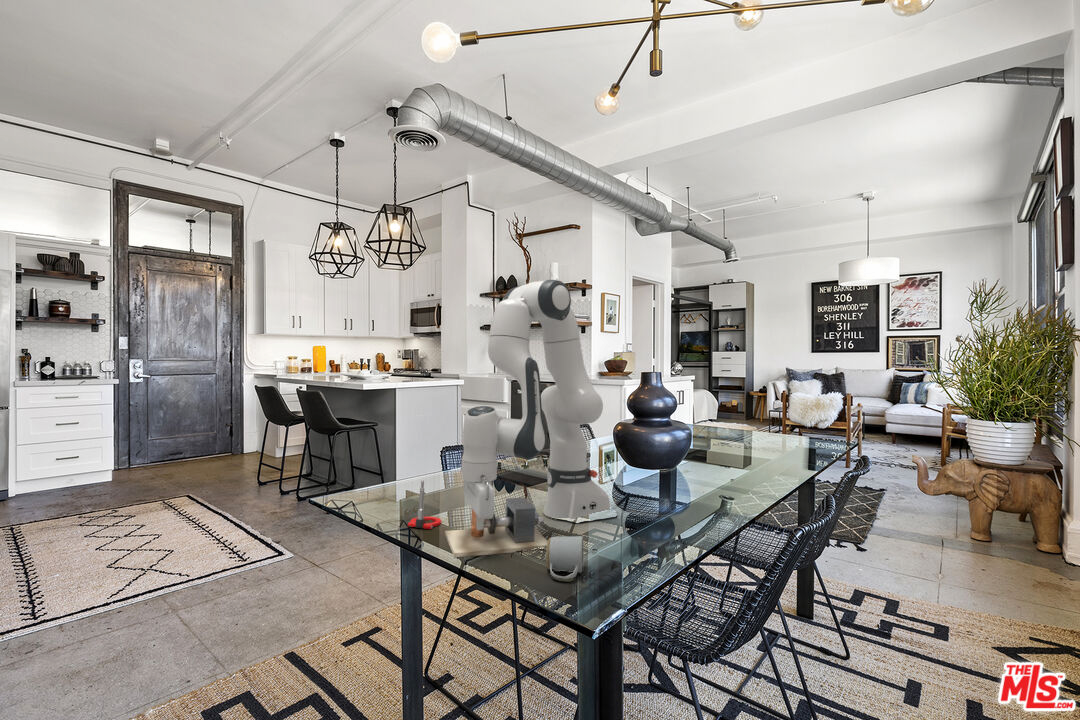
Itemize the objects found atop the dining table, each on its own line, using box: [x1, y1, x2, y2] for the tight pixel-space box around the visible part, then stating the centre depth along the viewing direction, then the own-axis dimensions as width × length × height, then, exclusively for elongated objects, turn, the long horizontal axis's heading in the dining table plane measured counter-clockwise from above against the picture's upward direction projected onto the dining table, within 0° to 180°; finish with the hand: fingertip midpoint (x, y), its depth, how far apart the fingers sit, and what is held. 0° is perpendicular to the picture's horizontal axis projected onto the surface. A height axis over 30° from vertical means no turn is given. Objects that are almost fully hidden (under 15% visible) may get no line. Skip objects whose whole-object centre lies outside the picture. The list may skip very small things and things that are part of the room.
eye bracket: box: [504, 497, 536, 543], centre depth 137 cm, size 5×10×8 cm, turn 18°
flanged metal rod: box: [470, 509, 545, 538], centre depth 136 cm, size 19×6×7 cm, turn 108°
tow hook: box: [407, 480, 442, 530], centre depth 148 cm, size 8×13×9 cm
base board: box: [444, 526, 548, 559], centre depth 135 cm, size 24×16×1 cm, turn 108°
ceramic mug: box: [545, 535, 585, 579], centre depth 117 cm, size 11×8×8 cm
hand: (477, 526), depth 134 cm, fingers closed on flanged metal rod, 3 cm apart
